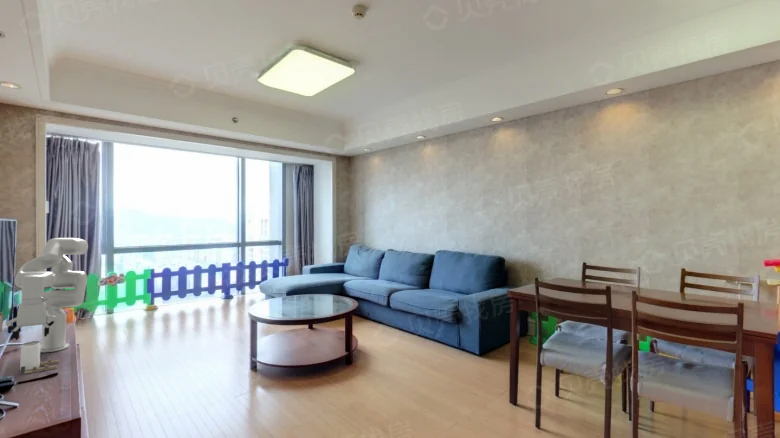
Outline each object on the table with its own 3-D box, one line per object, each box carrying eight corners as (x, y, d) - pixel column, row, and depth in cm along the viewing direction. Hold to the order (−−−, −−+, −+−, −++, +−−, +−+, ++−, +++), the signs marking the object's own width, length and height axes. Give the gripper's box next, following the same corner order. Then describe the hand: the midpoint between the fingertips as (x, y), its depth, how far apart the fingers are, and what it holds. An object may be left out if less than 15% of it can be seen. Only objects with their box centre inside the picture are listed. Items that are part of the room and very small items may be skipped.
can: (27, 372, 166) (28, 346, 166) (16, 370, 167) (17, 344, 167) (43, 366, 172) (44, 341, 172) (32, 365, 173) (33, 340, 174)
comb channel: (25, 367, 172) (25, 360, 172) (59, 362, 179) (59, 356, 179) (20, 374, 164) (20, 367, 164) (56, 368, 171) (56, 362, 171)
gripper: (58, 297, 178) (57, 332, 179) (8, 301, 168) (7, 337, 168) (56, 300, 172) (55, 336, 172) (4, 305, 162) (3, 343, 162)
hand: (31, 337), depth 170 cm, fingers open, 9 cm apart
